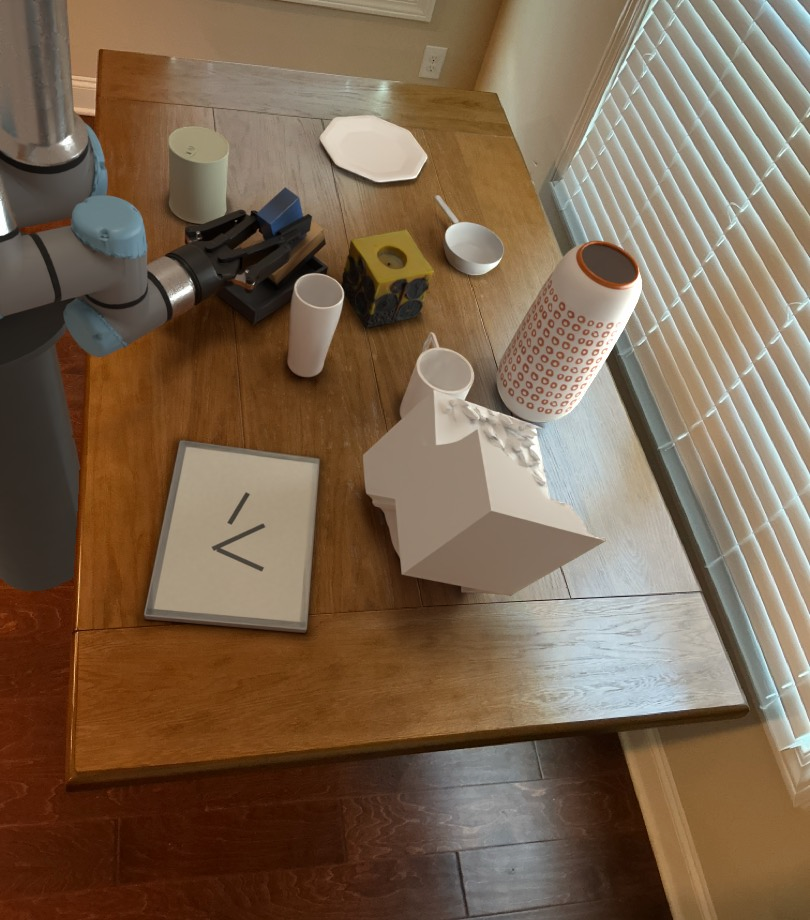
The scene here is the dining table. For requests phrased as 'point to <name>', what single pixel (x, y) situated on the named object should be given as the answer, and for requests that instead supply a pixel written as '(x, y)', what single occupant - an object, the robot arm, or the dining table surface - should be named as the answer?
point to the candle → (386, 278)
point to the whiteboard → (236, 539)
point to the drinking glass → (313, 322)
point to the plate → (373, 148)
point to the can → (198, 174)
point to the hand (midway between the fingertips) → (300, 216)
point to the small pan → (470, 245)
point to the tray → (267, 293)
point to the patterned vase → (568, 331)
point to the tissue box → (471, 498)
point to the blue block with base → (278, 216)
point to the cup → (437, 375)
